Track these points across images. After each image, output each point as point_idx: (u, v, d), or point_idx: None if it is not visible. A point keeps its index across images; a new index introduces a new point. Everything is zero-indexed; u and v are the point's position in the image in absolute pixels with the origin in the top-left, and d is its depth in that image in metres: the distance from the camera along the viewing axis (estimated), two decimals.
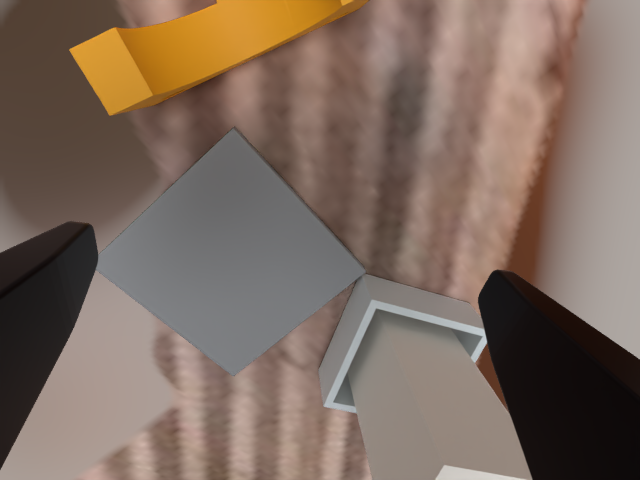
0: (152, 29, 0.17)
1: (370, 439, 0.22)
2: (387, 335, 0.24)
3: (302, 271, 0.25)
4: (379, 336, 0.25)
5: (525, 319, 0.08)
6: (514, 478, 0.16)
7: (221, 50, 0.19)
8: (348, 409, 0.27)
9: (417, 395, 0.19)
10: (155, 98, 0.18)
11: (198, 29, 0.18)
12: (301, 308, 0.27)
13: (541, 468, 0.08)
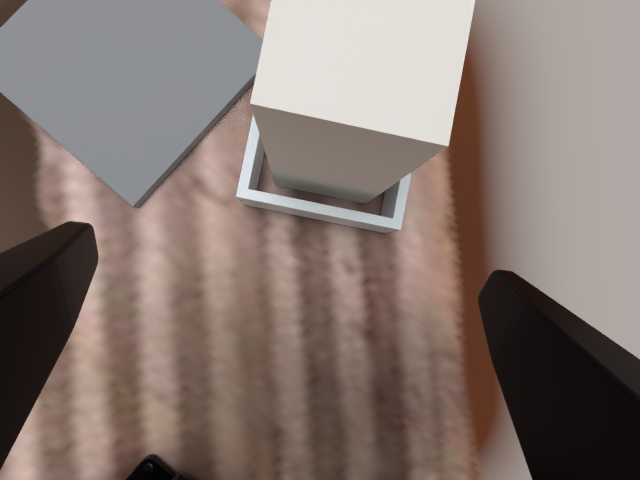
0: None
1: None
2: None
3: (202, 55, 0.23)
4: None
5: (525, 319, 0.08)
6: None
7: None
8: (271, 200, 0.20)
9: None
10: None
11: None
12: (207, 103, 0.23)
13: (541, 468, 0.08)
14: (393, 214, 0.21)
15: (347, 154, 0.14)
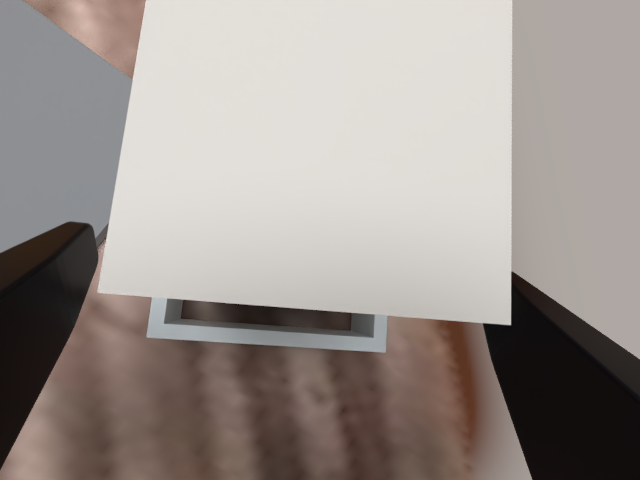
0: None
1: None
2: None
3: (92, 135, 0.17)
4: None
5: (525, 319, 0.08)
6: None
7: None
8: (200, 335, 0.14)
9: None
10: None
11: None
12: (102, 198, 0.17)
13: (541, 468, 0.08)
14: (373, 331, 0.15)
15: None
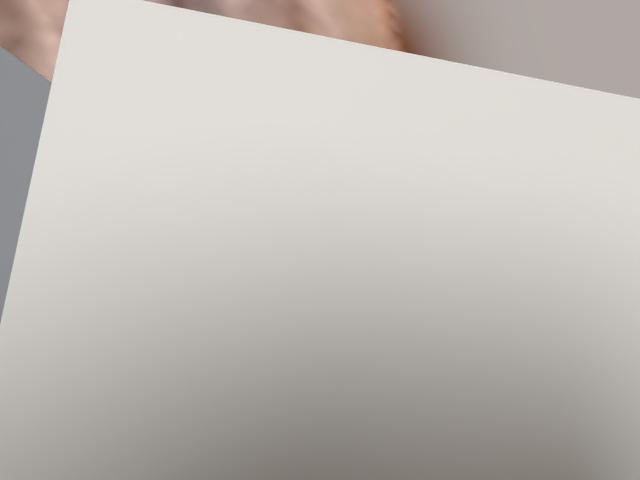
0: None
1: None
2: None
3: None
4: None
5: None
6: (471, 73, 0.04)
7: None
8: None
9: None
10: None
11: None
12: None
13: None
14: None
15: None
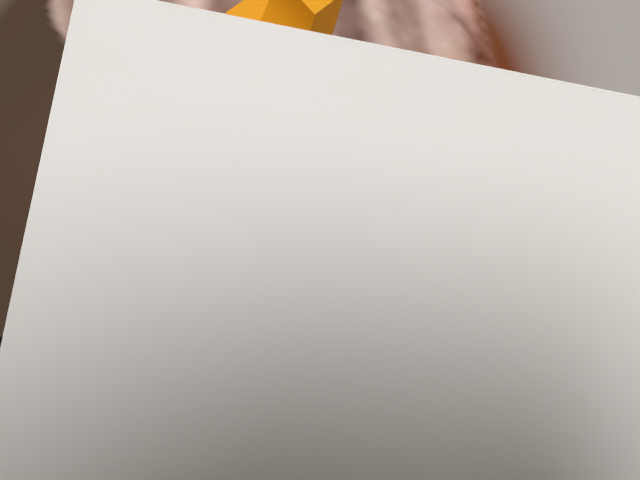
0: None
1: None
2: None
3: None
4: None
5: None
6: (472, 72, 0.04)
7: None
8: None
9: None
10: None
11: None
12: None
13: None
14: None
15: None
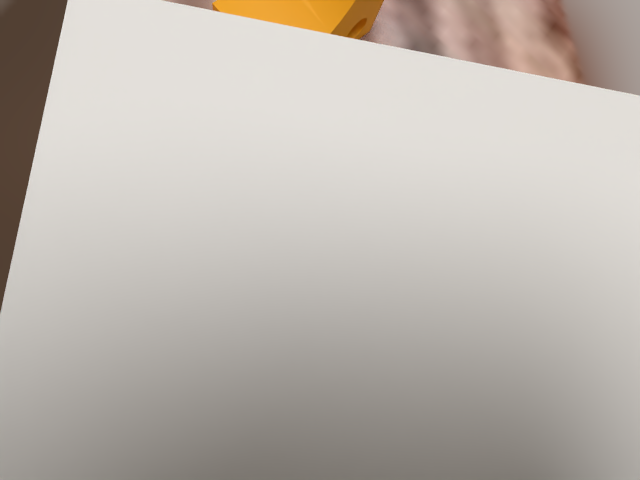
0: None
1: None
2: None
3: None
4: None
5: None
6: (468, 69, 0.04)
7: None
8: None
9: None
10: None
11: None
12: None
13: None
14: None
15: None
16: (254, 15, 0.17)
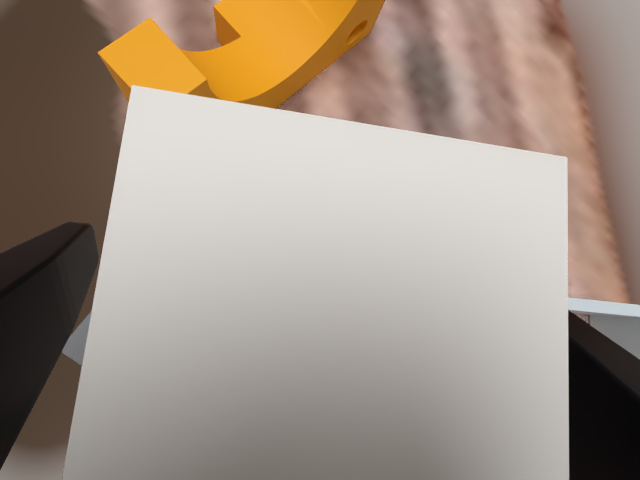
0: (183, 52, 0.15)
1: None
2: None
3: None
4: None
5: None
6: (413, 138, 0.05)
7: (256, 75, 0.17)
8: None
9: None
10: None
11: (228, 60, 0.16)
12: None
13: None
14: None
15: None
16: (255, 17, 0.17)
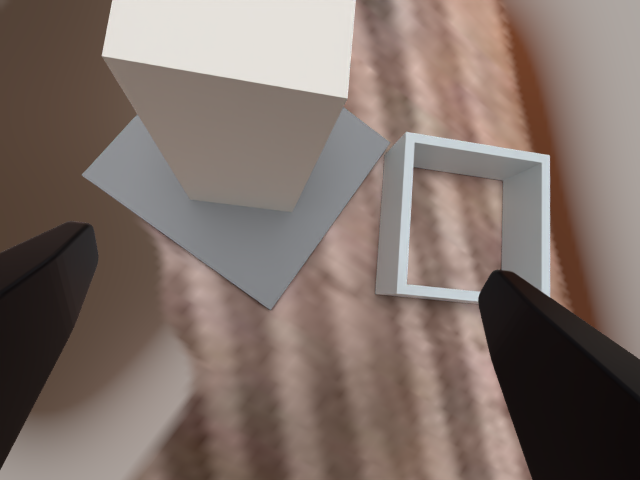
0: None
1: None
2: None
3: (323, 151, 0.23)
4: None
5: (525, 319, 0.08)
6: None
7: None
8: (430, 293, 0.20)
9: None
10: None
11: None
12: (333, 197, 0.23)
13: (541, 468, 0.08)
14: None
15: (246, 133, 0.12)
16: None
